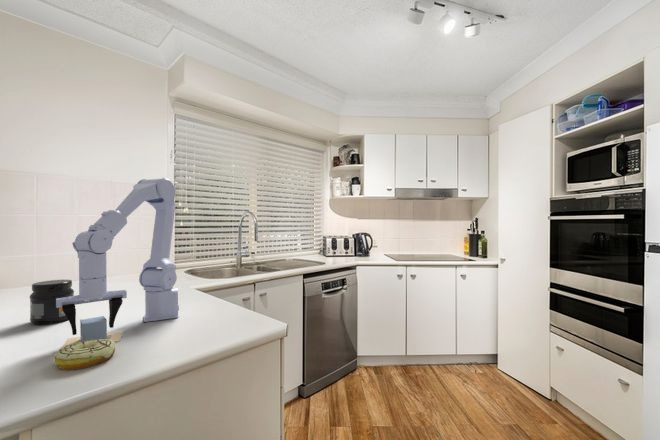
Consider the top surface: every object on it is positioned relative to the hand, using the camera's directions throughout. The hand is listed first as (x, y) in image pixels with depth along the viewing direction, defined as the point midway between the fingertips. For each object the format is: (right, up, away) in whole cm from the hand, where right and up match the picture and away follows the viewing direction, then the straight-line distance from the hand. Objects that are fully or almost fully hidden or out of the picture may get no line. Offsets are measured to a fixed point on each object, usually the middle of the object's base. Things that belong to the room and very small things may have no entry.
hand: (93, 330), depth 83 cm
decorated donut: (+7, -3, -12) cm, 14 cm away
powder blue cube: (0, -2, 0) cm, 2 cm away
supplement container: (-26, -3, +18) cm, 31 cm away
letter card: (0, -3, 0) cm, 3 cm away
